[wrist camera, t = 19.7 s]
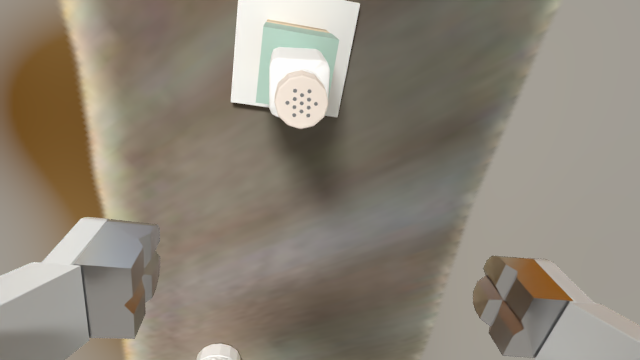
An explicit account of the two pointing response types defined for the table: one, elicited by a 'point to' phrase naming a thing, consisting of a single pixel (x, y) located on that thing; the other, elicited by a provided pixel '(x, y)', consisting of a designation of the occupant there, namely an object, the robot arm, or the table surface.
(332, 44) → the sage brick
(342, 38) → the plate
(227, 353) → the white cup
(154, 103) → the table surface
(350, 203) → the table surface
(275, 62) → the pepper shaker
